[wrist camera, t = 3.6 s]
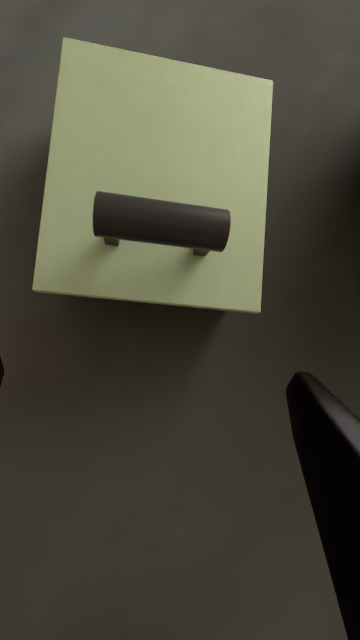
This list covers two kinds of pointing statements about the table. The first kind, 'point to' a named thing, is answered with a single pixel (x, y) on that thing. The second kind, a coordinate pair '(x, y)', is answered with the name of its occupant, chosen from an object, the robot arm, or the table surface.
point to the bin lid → (155, 182)
